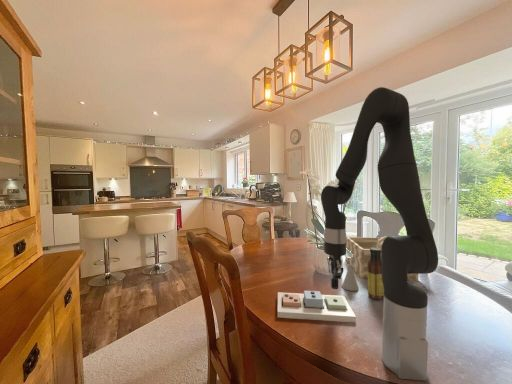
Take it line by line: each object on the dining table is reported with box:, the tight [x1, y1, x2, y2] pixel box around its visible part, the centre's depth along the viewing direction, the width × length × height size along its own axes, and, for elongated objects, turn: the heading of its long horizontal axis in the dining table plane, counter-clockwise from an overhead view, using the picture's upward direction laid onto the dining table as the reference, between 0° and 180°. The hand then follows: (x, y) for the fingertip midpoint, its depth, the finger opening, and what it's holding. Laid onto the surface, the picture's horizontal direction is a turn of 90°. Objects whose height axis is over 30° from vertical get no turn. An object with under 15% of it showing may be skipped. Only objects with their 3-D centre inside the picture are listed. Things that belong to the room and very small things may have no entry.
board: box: [277, 291, 357, 323], centre depth 84 cm, size 14×26×2 cm, turn 84°
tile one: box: [325, 296, 346, 310], centre depth 83 cm, size 6×6×3 cm
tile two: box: [303, 290, 323, 309], centre depth 83 cm, size 6×6×3 cm
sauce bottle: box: [367, 248, 384, 301], centre depth 92 cm, size 6×6×20 cm
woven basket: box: [345, 236, 419, 281], centre depth 123 cm, size 26×26×14 cm
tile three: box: [282, 294, 301, 308], centre depth 84 cm, size 6×6×3 cm
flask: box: [341, 264, 359, 292], centre depth 100 cm, size 7×7×10 cm
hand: (334, 288), depth 82 cm, fingers closed
